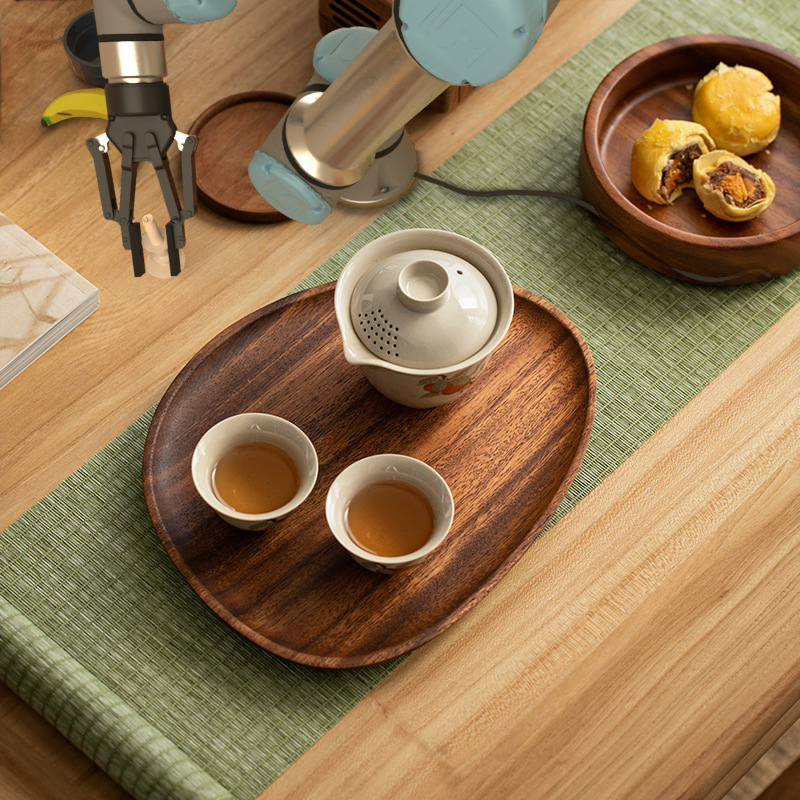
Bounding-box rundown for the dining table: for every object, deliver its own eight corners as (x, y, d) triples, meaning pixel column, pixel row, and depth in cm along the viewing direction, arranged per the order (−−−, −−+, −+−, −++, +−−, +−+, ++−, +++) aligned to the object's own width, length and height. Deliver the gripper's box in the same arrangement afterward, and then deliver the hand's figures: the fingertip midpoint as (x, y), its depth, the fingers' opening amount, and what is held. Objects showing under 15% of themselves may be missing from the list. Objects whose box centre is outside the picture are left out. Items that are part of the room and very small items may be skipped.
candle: (142, 277, 121) (120, 230, 112) (152, 244, 124) (131, 196, 114) (181, 281, 121) (161, 235, 112) (190, 248, 123) (172, 200, 114)
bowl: (163, 42, 147) (156, 17, 143) (130, 98, 142) (121, 74, 138) (94, 24, 149) (85, -2, 144) (59, 78, 144) (48, 54, 139)
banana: (39, 81, 138) (25, 170, 134) (151, 79, 137) (141, 169, 133) (52, 99, 143) (39, 186, 139) (161, 97, 141) (151, 185, 137)
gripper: (212, 78, 113) (229, 266, 121) (75, 81, 113) (100, 269, 121) (201, 79, 106) (219, 279, 114) (54, 83, 106) (82, 282, 114)
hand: (158, 274), depth 118 cm, fingers closed on candle, 4 cm apart
